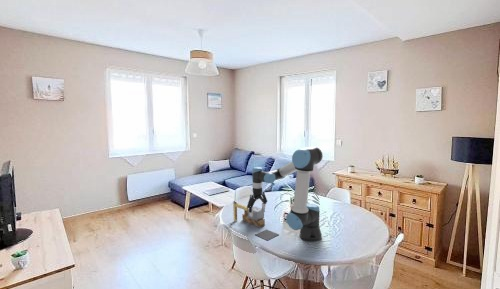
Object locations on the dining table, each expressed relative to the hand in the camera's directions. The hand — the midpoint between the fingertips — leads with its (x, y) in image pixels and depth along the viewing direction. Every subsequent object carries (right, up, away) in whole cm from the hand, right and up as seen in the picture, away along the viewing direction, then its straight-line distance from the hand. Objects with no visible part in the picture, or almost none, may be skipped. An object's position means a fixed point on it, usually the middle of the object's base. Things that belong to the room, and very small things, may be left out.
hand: (257, 213), depth 206 cm
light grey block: (-1, -4, +2) cm, 4 cm away
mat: (+6, -11, -17) cm, 21 cm away
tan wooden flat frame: (-13, -8, +3) cm, 16 cm away
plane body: (-3, -8, +4) cm, 10 cm away
